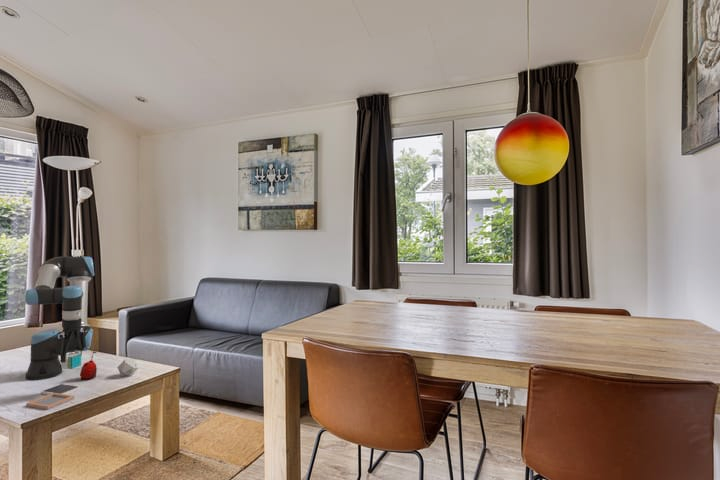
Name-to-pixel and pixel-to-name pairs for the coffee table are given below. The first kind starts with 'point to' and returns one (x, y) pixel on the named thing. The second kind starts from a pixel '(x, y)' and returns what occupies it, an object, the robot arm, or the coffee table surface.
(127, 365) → the die
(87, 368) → the red clay folk toy
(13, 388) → the coffee table surface
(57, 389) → the ink pad
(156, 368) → the coffee table surface
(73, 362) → the puzzle toy
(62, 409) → the coffee table surface
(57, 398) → the square tray
